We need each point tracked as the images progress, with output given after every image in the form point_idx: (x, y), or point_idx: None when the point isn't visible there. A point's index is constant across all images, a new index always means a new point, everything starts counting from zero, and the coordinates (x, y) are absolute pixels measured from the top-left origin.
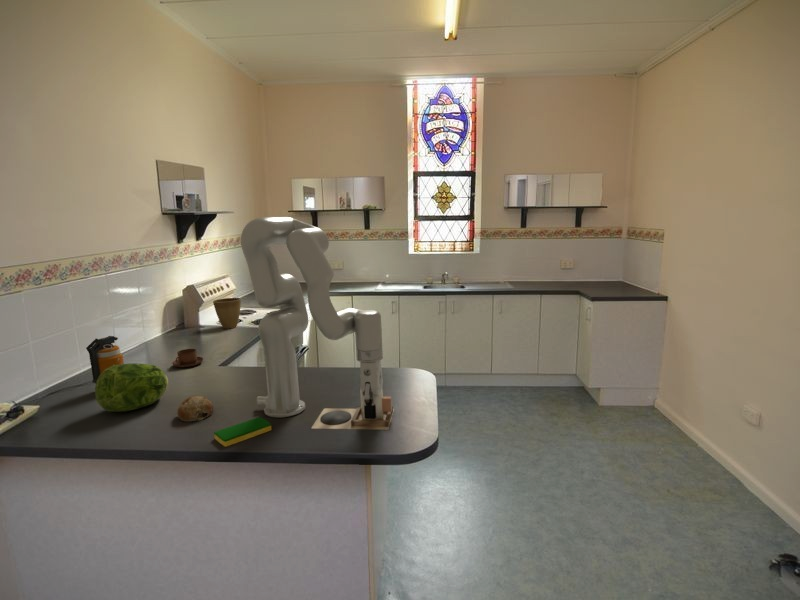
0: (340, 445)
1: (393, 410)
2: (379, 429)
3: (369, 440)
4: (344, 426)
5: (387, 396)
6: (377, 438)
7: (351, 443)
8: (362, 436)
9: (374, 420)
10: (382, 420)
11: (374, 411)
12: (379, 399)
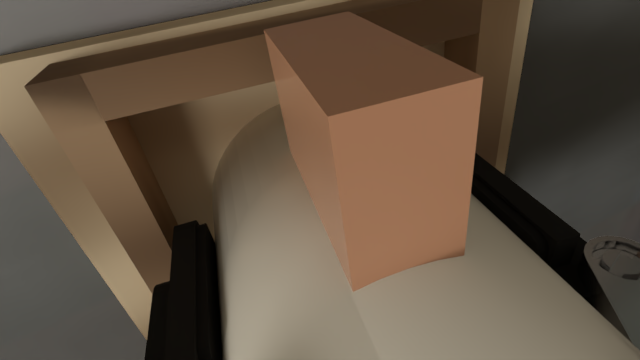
0: (614, 199)
1: (19, 66)
2: (524, 46)
3: (604, 69)
4: None
5: (342, 209)
6: (590, 20)
7: (610, 159)
8: (539, 140)
9: (477, 139)
10: (484, 60)
11: (511, 192)
12: (541, 266)
